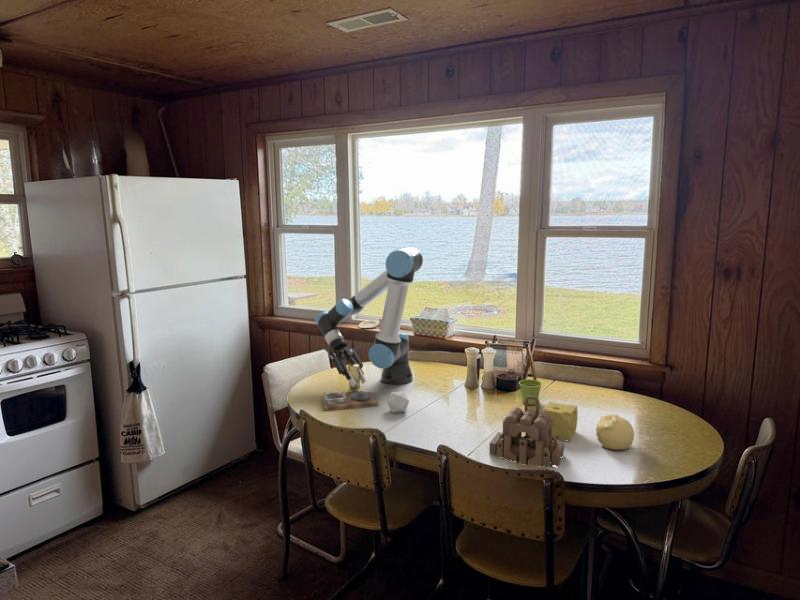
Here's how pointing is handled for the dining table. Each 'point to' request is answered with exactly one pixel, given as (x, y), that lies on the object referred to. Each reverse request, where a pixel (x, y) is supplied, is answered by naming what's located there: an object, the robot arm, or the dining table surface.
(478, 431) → the dining table surface
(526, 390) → the plant pot
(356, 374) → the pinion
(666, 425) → the dining table surface
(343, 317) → the robot arm
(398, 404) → the die
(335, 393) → the gear board
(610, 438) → the sculpture
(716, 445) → the dining table surface
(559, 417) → the cheese
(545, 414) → the wooden puzzle
